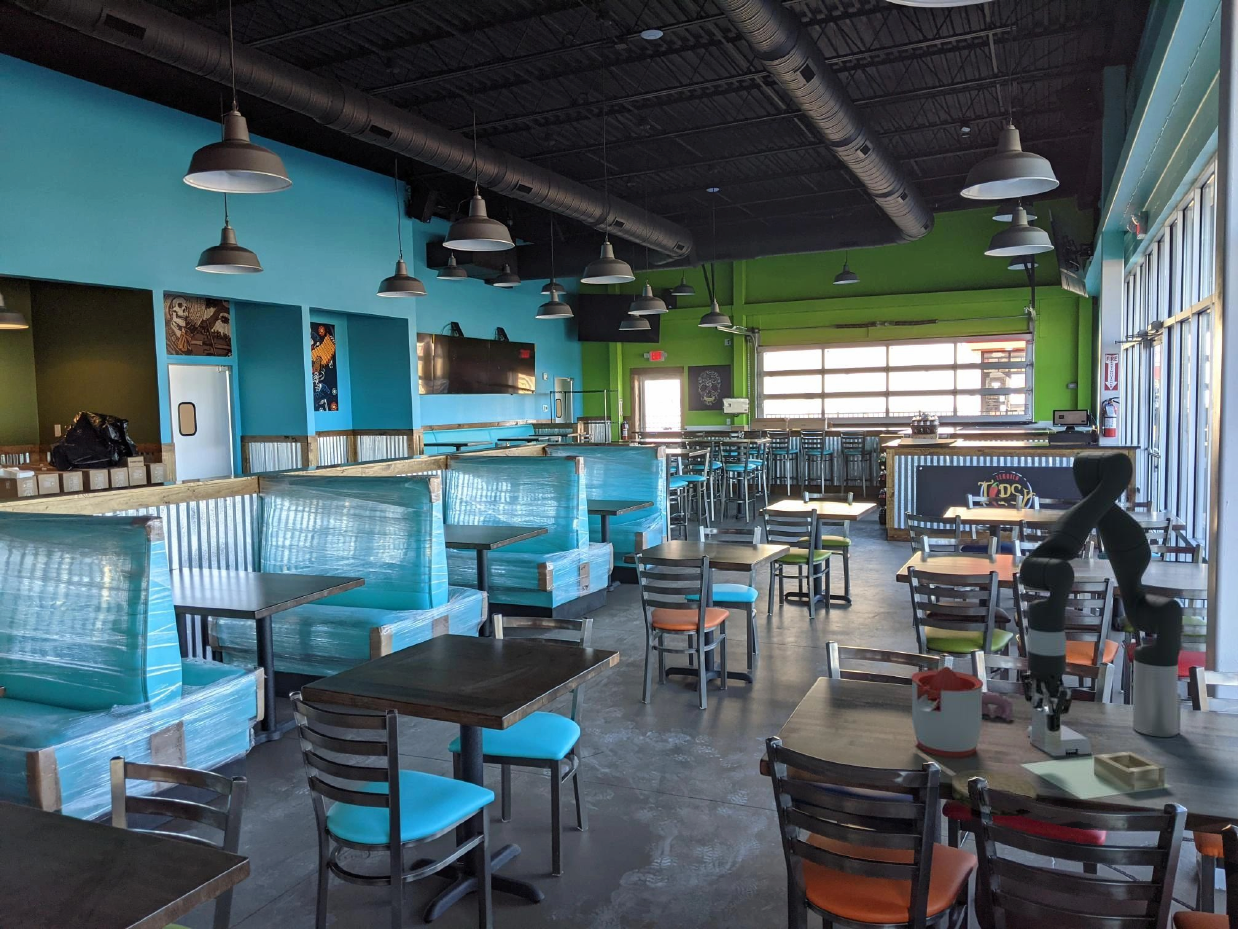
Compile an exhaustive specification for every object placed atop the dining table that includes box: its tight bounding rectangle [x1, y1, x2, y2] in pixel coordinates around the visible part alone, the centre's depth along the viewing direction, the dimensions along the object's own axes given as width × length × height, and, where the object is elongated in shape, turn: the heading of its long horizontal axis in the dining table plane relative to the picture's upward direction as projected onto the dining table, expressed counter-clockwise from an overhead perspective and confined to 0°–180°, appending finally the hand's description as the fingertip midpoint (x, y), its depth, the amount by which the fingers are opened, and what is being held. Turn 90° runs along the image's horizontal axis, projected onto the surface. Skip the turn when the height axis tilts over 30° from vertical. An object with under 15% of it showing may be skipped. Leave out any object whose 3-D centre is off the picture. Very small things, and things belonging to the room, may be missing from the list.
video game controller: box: [982, 691, 1014, 722], centre depth 224 cm, size 10×5×7 cm, turn 58°
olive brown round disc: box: [951, 769, 1038, 817], centre depth 175 cm, size 16×16×3 cm
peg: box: [1031, 705, 1062, 752], centre depth 187 cm, size 4×4×8 cm
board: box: [1020, 753, 1173, 800], centre depth 183 cm, size 22×18×1 cm
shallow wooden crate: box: [1093, 751, 1166, 791], centre depth 180 cm, size 9×9×4 cm
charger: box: [1026, 724, 1092, 757], centre depth 202 cm, size 5×9×15 cm
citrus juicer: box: [910, 666, 984, 758], centre depth 199 cm, size 16×17×20 cm
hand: (1046, 727), depth 187 cm, fingers closed on peg, 4 cm apart
